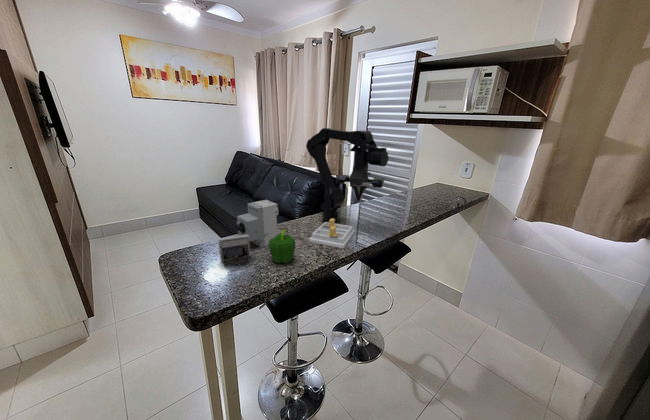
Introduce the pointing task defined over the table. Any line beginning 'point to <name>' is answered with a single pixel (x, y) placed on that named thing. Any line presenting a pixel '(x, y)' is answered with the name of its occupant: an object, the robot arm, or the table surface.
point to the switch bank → (339, 241)
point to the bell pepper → (282, 248)
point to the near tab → (333, 231)
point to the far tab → (331, 223)
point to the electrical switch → (234, 249)
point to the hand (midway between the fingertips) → (358, 201)
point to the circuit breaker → (259, 222)
